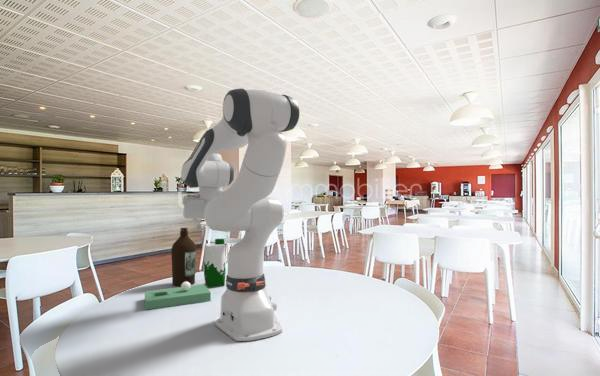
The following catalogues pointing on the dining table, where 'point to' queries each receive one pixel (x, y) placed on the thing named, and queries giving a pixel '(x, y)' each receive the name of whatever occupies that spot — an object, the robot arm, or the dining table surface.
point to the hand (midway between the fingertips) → (209, 229)
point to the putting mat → (176, 296)
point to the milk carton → (214, 263)
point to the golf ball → (185, 286)
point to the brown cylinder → (183, 259)
